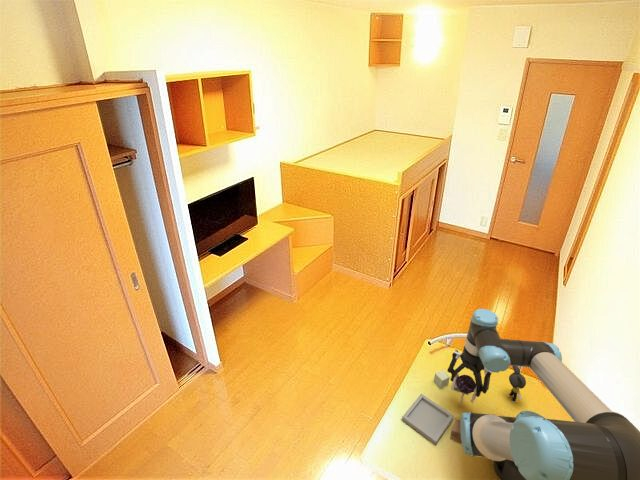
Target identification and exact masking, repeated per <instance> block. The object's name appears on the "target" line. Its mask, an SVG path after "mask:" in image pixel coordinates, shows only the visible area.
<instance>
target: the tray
mask: <svg viewBox="0 0 640 480" xmlns="http://www.w3.org/2000/svg"><path fill="white" fill-rule="evenodd" d="M454 419H455V415H454V414H453V413H451V412H450V411H448V410H446V409H445V408H444V407H442V406H440V404H438V403H436V402H435V401H433V400H432V399H430V398H428V397H427V396H426V395H424V394H423V393H420V394H419V395H418V397H417V398H416V399H415V400H414V401H413V402H412V404H411V405H410V407H409V408H408V409H407V410H406V411H405V413H403V415H402V416H401V421H402V422H403V423H405V424H406V425H408V426H409V427H410V428H412V430H414V431H416V432H417V433H418V434H419V435H421V436H422V437H423V438H425V439H426V440H428V442H430V443H432V444H433V445H434V446H436V445H437V443H438V442H439V440H440V439H441V438H442V436H443V435H444V433H445V431H447V429H448V427H449V426H450V424H451V423H452V422H453V420H454Z"/></svg>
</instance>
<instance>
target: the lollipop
mask: <svg viewBox="0 0 640 480" xmlns="http://www.w3.org/2000/svg"><path fill="white" fill-rule="evenodd" d="M456 385H457V387H458V389H459V390H460V391H461V392H463V393H461V392H460V393H461V396H460V401H459V404H458V405H459V406H460V407H461V406H462V401H463V399H464V395H467V394H468V395H469V394H473V392H474V389H475V388H476V382H475V379H474V378H473V377H472V376H470V375H468V374H461V375H459V377H458V378H457V379H456ZM464 393H465V394H464Z"/></svg>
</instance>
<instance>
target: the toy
mask: <svg viewBox="0 0 640 480" xmlns="http://www.w3.org/2000/svg"><path fill="white" fill-rule="evenodd" d="M511 367H512V369H513V372H512V373H510V374H509V376H508V379H509V380H508V381H509V384H510V385H511V386H512V388H511V391H510V393H508V397H512V398H511V403H517V398H518V399H519V400H520V401H523V397H522V394H521V392H520V390H522V389H524V388H525V386H526V385H527V381H526V377H525V376H524V375H523V374H522V373H521V370H520V368H519V366H512V365H511Z"/></svg>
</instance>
